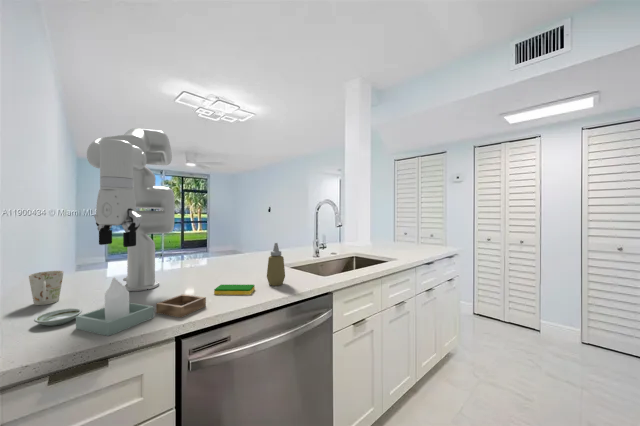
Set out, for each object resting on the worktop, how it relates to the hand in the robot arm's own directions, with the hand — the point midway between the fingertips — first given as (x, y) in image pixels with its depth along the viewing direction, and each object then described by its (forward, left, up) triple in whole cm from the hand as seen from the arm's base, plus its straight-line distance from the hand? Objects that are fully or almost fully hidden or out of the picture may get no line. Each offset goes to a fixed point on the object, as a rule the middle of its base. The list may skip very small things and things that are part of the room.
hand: (117, 245), depth 76 cm
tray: (0, 0, -22) cm, 22 cm away
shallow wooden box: (+9, +14, -22) cm, 27 cm away
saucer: (-16, -5, -22) cm, 28 cm away
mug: (-38, +2, -22) cm, 44 cm away
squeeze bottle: (+23, +51, -22) cm, 60 cm away
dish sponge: (+13, +36, -23) cm, 44 cm away
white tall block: (0, 0, -21) cm, 21 cm away
